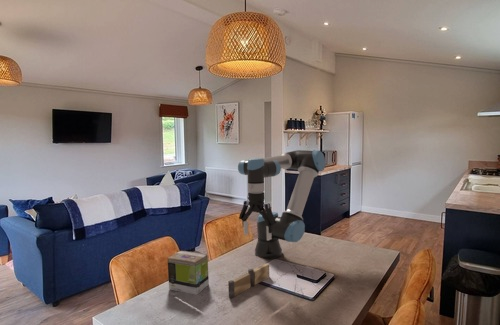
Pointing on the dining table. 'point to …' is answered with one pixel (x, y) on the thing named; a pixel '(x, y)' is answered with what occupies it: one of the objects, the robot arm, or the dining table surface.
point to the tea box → (188, 272)
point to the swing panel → (258, 274)
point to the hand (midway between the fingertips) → (257, 236)
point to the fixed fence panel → (239, 285)
